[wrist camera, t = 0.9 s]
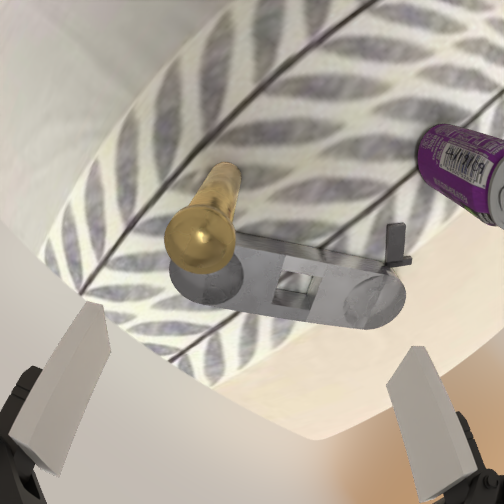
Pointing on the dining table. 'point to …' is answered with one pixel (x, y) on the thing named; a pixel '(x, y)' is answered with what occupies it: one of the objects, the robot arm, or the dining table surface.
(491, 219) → the beverage can
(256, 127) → the dining table surface
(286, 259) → the slotted metal plate
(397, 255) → the dark grey l-shaped bracket
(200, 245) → the pin
